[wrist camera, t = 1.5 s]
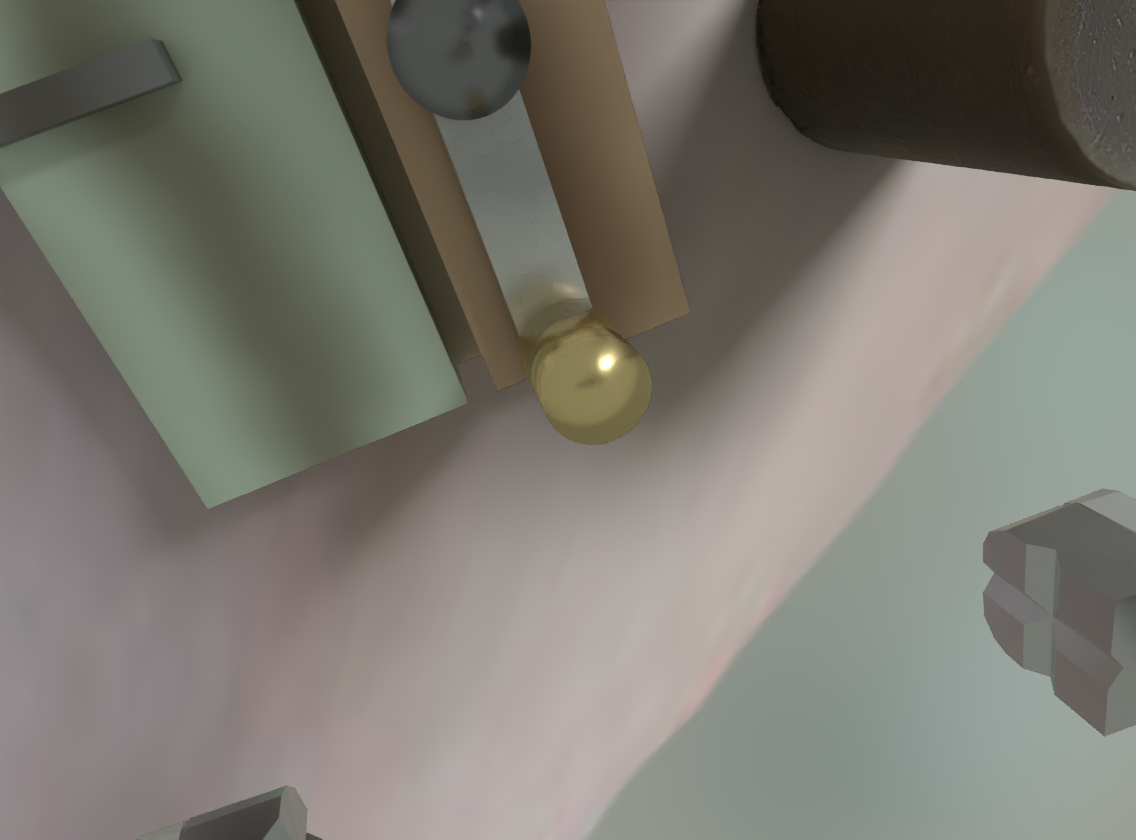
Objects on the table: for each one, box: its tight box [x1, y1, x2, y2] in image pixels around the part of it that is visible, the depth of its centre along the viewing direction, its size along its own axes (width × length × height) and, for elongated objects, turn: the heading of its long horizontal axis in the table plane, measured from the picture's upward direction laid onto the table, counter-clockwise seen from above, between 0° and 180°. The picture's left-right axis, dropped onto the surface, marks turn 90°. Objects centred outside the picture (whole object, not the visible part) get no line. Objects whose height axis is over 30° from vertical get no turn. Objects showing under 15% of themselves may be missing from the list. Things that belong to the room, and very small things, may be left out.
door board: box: [0, 0, 690, 509], centre depth 25 cm, size 17×16×7 cm
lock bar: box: [387, 0, 652, 444], centre depth 21 cm, size 12×4×5 cm, turn 20°
